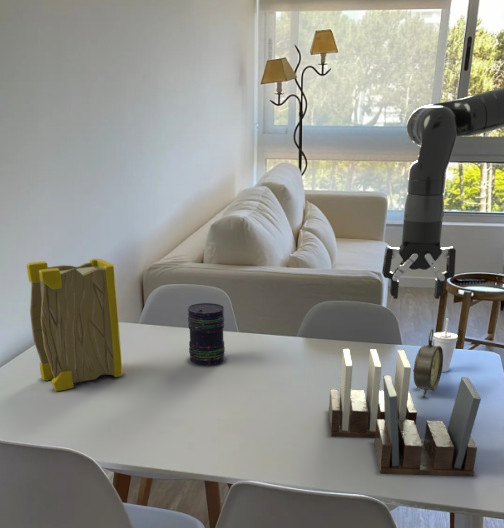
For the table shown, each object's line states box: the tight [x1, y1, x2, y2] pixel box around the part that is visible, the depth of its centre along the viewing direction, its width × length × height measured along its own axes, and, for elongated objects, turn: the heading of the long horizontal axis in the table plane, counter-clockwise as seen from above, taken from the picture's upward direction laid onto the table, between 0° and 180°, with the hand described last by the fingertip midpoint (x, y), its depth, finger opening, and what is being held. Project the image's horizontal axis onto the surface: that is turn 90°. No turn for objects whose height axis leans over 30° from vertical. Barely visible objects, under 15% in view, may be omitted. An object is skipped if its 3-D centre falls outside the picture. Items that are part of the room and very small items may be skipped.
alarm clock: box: [412, 328, 443, 399], centre depth 173 cm, size 11×5×16 cm, turn 151°
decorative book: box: [26, 258, 123, 392], centre depth 178 cm, size 20×11×30 cm, turn 124°
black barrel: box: [187, 302, 226, 367], centre depth 194 cm, size 10×10×15 cm
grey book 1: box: [382, 374, 399, 467], centre depth 141 cm, size 1×11×15 cm, turn 176°
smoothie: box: [432, 318, 459, 373], centre depth 188 cm, size 6×6×14 cm
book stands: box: [328, 388, 478, 477], centre depth 150 cm, size 27×29×6 cm
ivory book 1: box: [339, 348, 353, 431], centre depth 155 cm, size 1×11×15 cm, turn 177°
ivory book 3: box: [393, 349, 412, 420], centre depth 155 cm, size 1×11×15 cm, turn 177°
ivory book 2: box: [365, 348, 382, 431], centre depth 155 cm, size 1×11×15 cm, turn 177°
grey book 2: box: [446, 376, 482, 469], centre depth 140 cm, size 1×11×15 cm, turn 177°
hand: (415, 298), depth 146 cm, fingers open, 8 cm apart
